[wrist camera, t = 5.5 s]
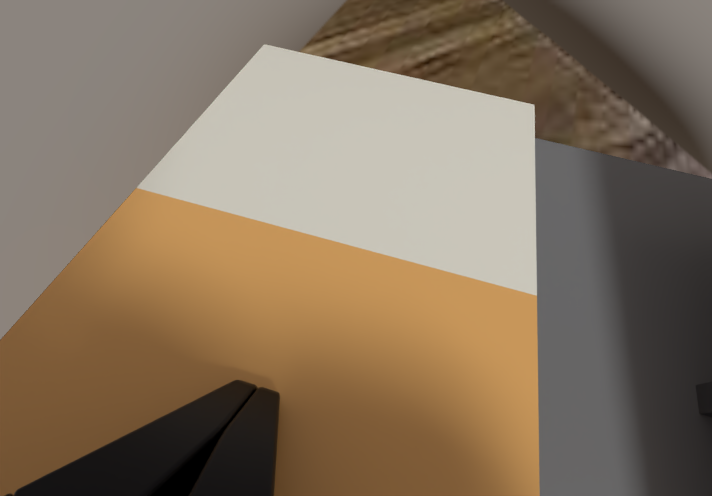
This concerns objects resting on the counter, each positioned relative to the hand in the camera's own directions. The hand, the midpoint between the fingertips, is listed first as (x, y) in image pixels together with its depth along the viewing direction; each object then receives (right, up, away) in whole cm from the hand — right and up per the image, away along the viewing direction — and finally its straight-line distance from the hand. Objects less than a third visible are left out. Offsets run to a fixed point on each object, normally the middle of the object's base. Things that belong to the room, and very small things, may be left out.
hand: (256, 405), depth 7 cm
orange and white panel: (+1, +3, +3) cm, 4 cm away
